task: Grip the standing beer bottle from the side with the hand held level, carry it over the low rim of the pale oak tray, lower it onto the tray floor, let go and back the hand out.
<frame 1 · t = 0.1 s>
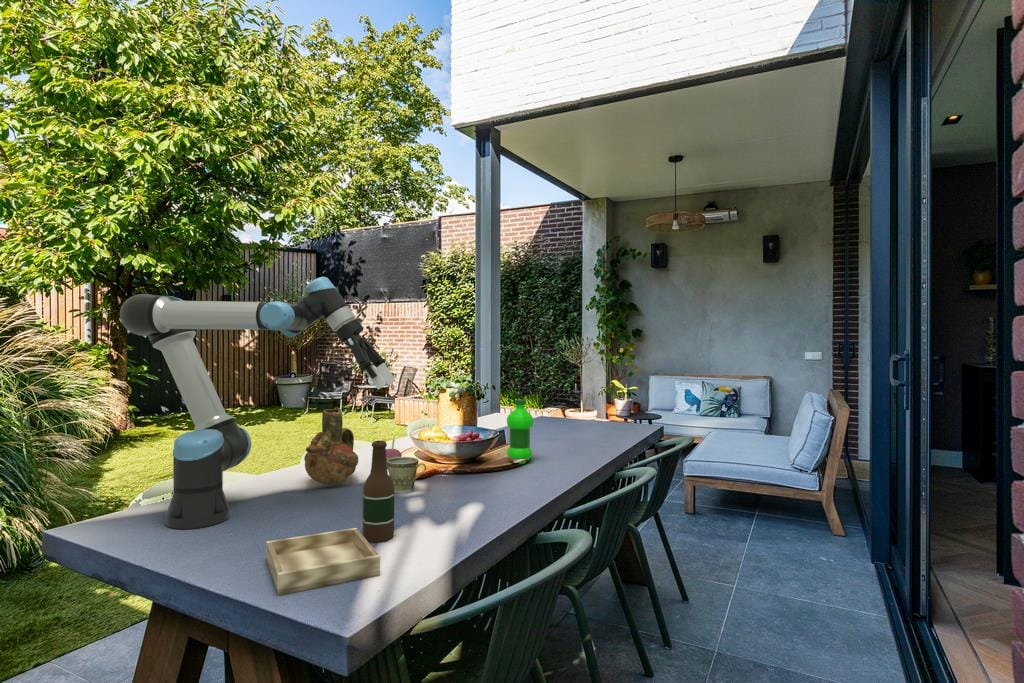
hand: (387, 384, 167), 36 cm above the table, tool tilted 35°, fingers open, 13 cm apart
ceramic vessel: (330, 484, 192), on the table
ceramic cup: (406, 491, 185), on the table
cupcake: (390, 468, 217), on the table
plastic bottle: (519, 463, 227), on the table
oak tray: (321, 567, 124), on the table
beer bottle: (378, 538, 142), on the table
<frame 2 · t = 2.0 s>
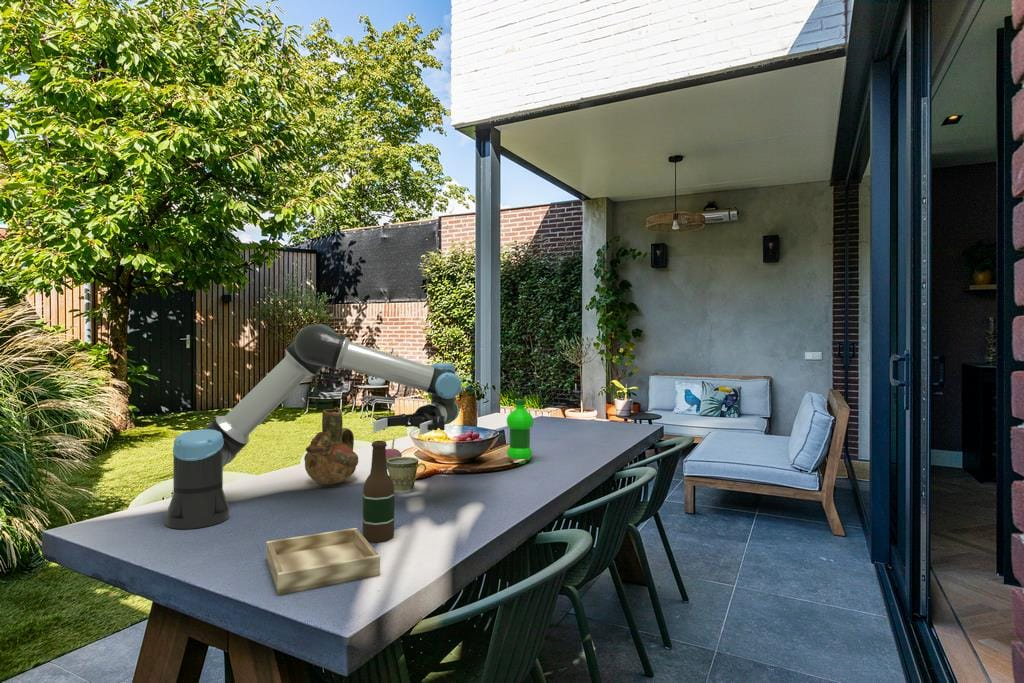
hand: (397, 428, 151), 26 cm above the table, tool horizontal, fingers open, 13 cm apart
nothing on the table moved.
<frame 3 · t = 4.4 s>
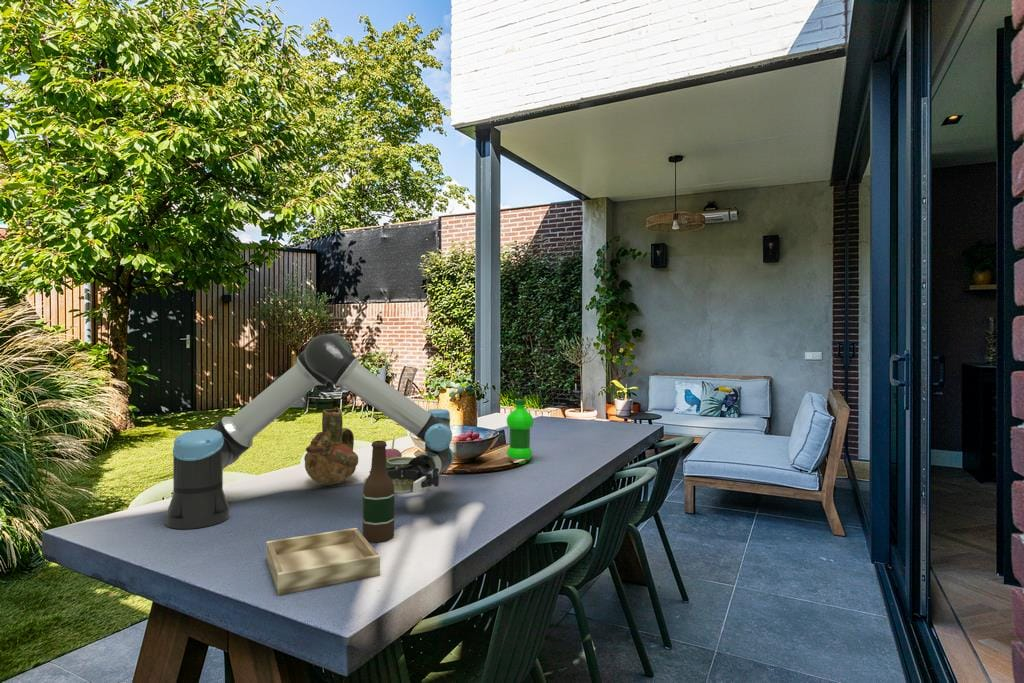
hand: (389, 485, 147), 12 cm above the table, tool horizontal, fingers open, 13 cm apart
nothing on the table moved.
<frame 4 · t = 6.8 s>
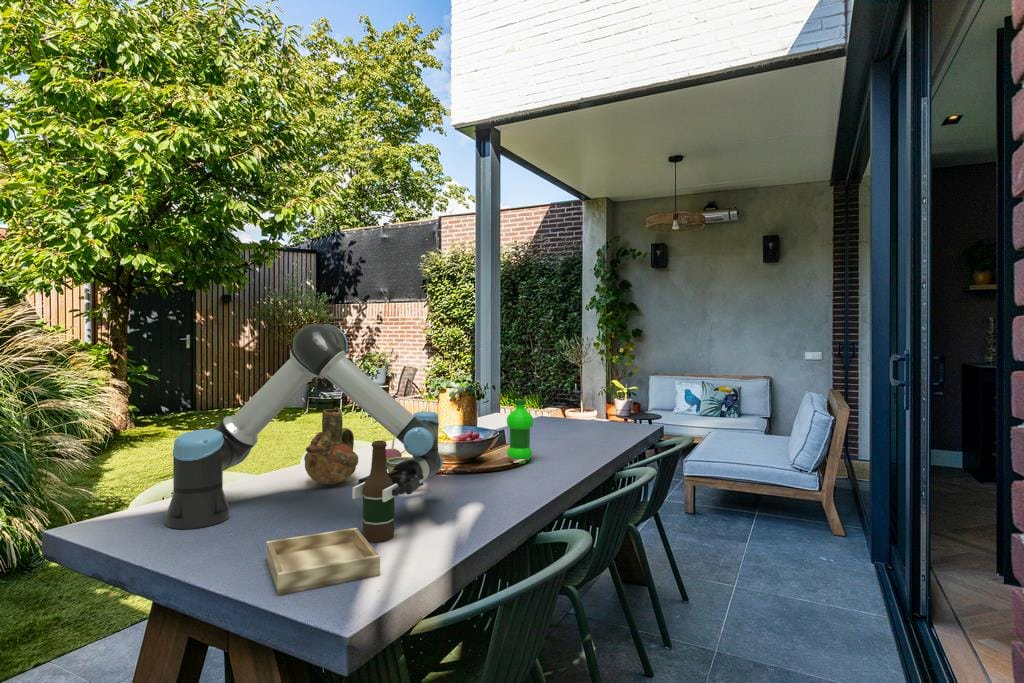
hand: (368, 494, 138), 12 cm above the table, tool horizontal, fingers closed on beer bottle, 7 cm apart
beer bottle: (378, 538, 142), on the table, touching gripper
everything else where it was.
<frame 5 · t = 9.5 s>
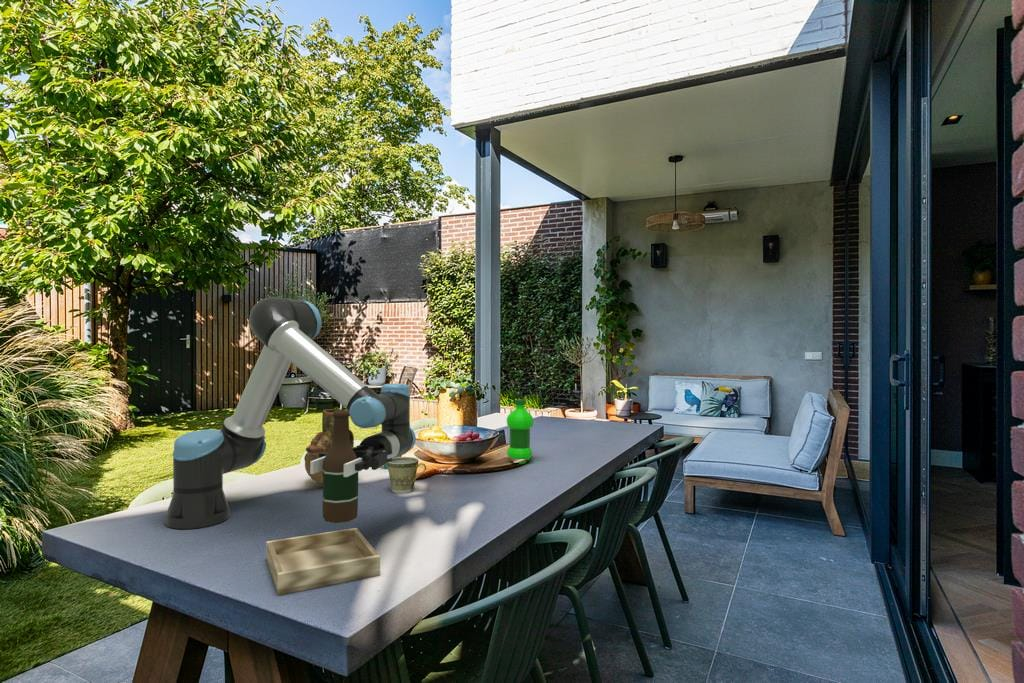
hand: (328, 469, 123), 22 cm above the table, tool horizontal, fingers closed on beer bottle, 7 cm apart
beer bottle: (340, 518, 128), point 9 cm above the table, touching gripper
everything else where it was.
when the fingers open (14 cm above the table, at t = 12.1 s): beer bottle drops 1 cm, resting on oak tray.
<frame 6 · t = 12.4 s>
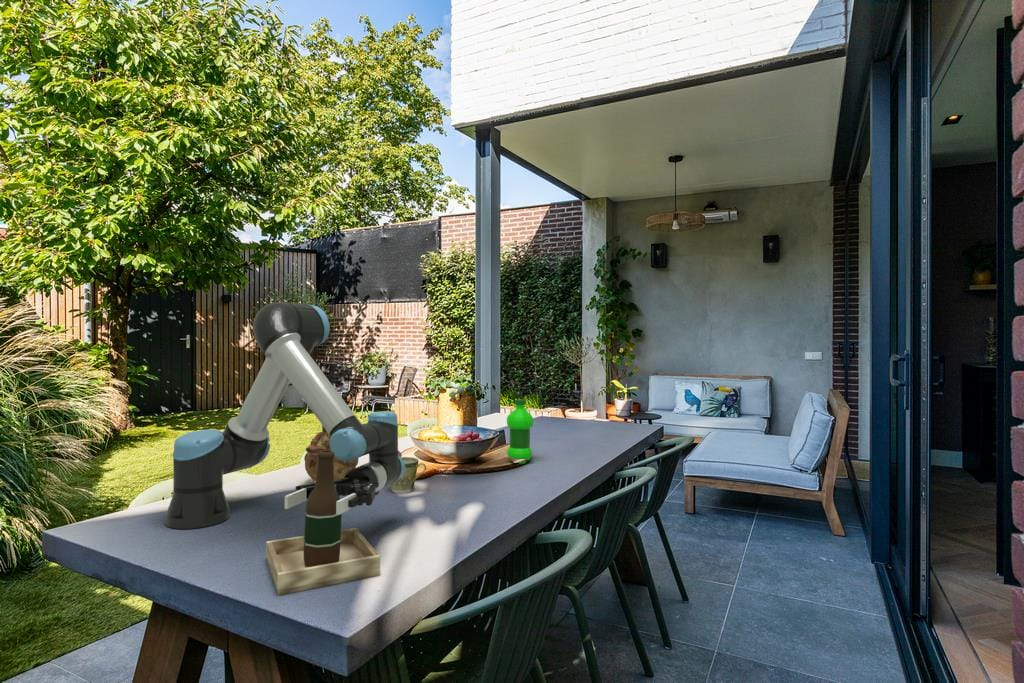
hand: (311, 505, 120), 14 cm above the table, tool horizontal, fingers open, 12 cm apart
beer bottle: (321, 562, 124), point 1 cm above the table, touching oak tray
everything else where it was.
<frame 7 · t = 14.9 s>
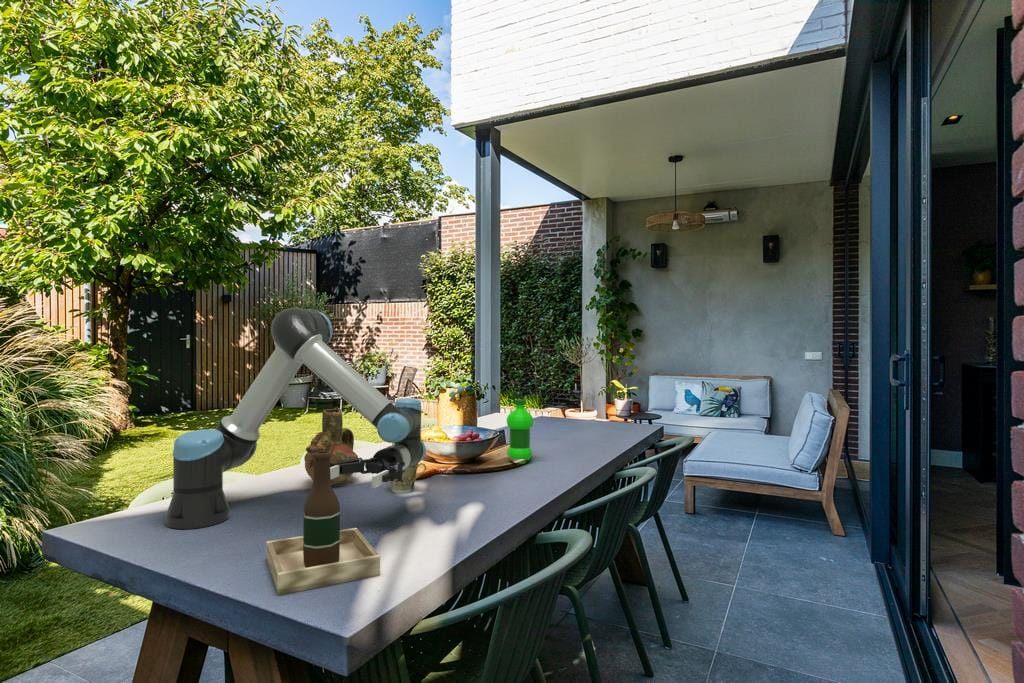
hand: (347, 479, 134), 17 cm above the table, tool horizontal, fingers open, 13 cm apart
nothing on the table moved.
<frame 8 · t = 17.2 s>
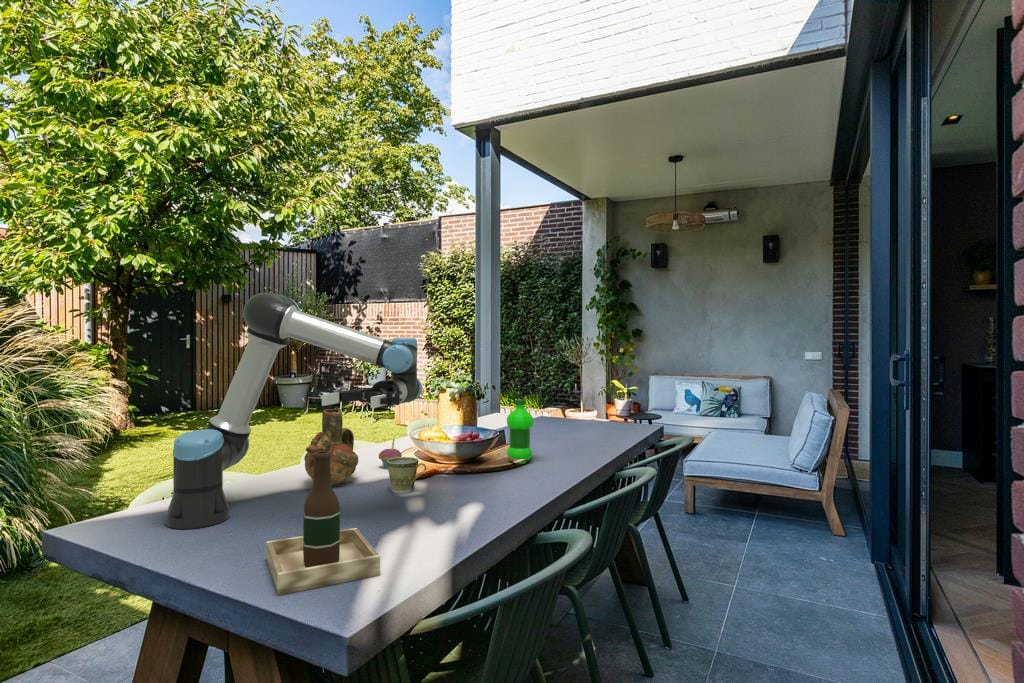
hand: (347, 401, 141), 34 cm above the table, tool horizontal, fingers open, 13 cm apart
nothing on the table moved.
at the end: beer bottle inside the target area on the oak tray (0.0 cm from its centre), point 0.8 cm above the oak tray's base; beer bottle tilted 0°; the gripper is holding nothing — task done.
